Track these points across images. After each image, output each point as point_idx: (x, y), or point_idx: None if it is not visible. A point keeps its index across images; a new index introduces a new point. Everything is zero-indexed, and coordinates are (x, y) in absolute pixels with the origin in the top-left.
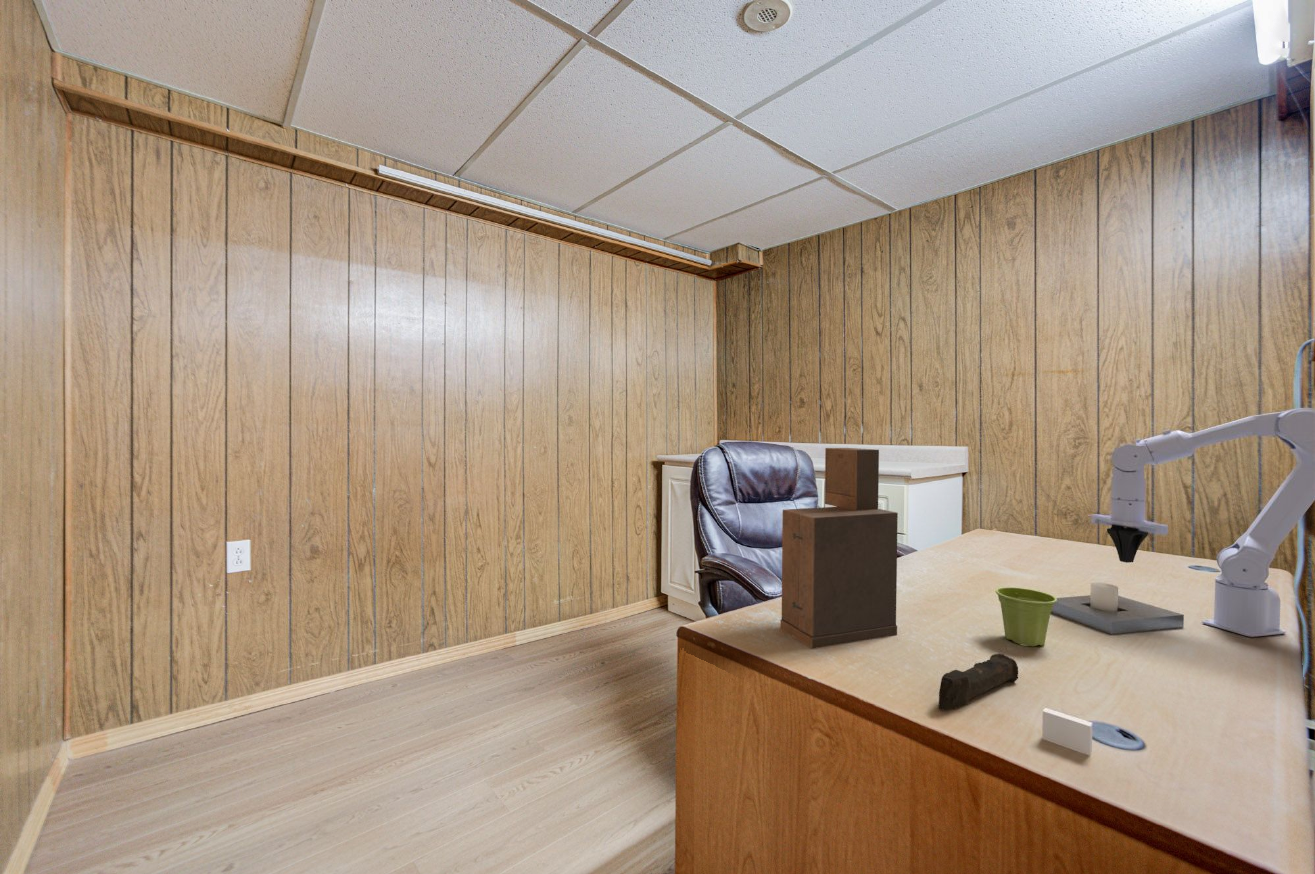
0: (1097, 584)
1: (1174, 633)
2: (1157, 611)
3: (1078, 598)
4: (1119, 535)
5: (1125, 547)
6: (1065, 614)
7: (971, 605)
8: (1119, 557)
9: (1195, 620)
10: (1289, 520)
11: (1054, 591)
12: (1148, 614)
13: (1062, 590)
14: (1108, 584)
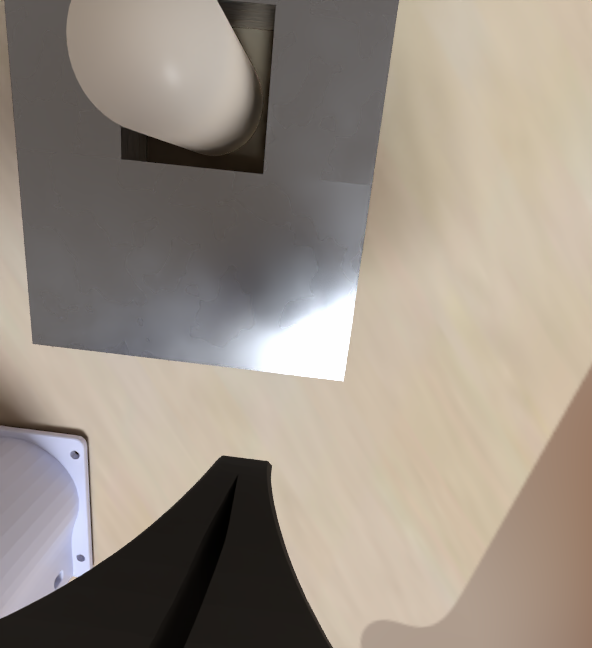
0: (182, 25)
1: (17, 214)
2: (86, 284)
3: (347, 112)
4: (143, 646)
5: (159, 530)
6: None
7: None
8: (261, 472)
9: (118, 454)
10: None
11: (582, 323)
12: (58, 190)
13: (572, 377)
14: (163, 115)
